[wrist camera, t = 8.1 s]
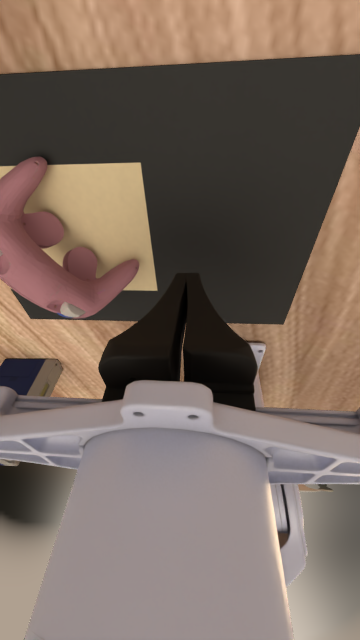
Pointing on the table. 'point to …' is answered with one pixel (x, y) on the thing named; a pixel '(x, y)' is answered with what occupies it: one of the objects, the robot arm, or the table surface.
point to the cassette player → (29, 380)
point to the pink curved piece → (38, 267)
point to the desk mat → (187, 172)
